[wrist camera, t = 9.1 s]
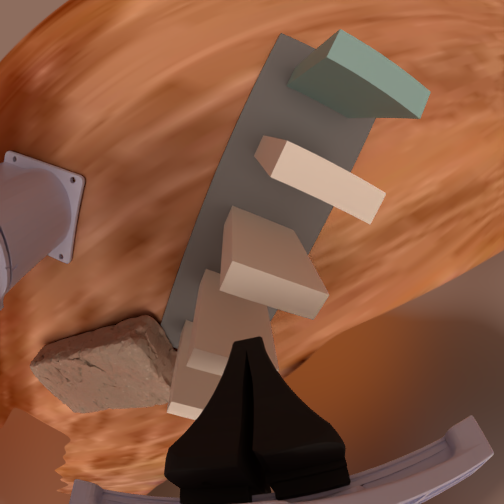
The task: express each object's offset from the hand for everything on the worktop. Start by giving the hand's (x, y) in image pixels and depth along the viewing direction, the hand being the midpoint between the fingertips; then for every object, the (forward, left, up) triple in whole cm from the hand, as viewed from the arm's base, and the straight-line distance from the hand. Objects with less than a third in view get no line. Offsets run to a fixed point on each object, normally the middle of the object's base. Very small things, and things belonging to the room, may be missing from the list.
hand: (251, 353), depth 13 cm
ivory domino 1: (0, -8, -10) cm, 13 cm away
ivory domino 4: (0, -2, -10) cm, 10 cm away
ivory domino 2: (0, +9, -10) cm, 13 cm away
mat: (0, +3, -10) cm, 11 cm away
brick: (-9, -16, -10) cm, 21 cm away
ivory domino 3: (0, +3, -10) cm, 11 cm away
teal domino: (0, +14, -10) cm, 17 cm away
